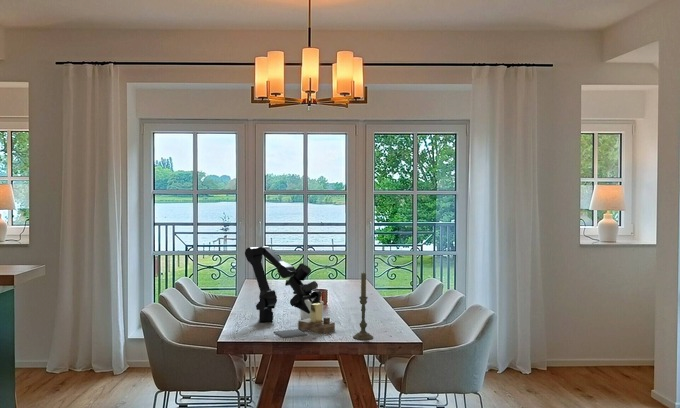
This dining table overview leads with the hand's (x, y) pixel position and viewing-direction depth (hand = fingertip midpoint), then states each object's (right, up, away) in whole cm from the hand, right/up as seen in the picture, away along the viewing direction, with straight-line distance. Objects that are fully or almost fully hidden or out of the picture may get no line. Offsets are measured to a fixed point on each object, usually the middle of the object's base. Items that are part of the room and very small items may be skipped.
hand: (315, 311), depth 293 cm
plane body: (0, -9, 0) cm, 9 cm away
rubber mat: (-11, -9, -10) cm, 17 cm away
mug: (-3, -9, +25) cm, 26 cm away
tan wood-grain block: (0, -6, 0) cm, 6 cm away
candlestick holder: (+22, -9, -16) cm, 29 cm away
